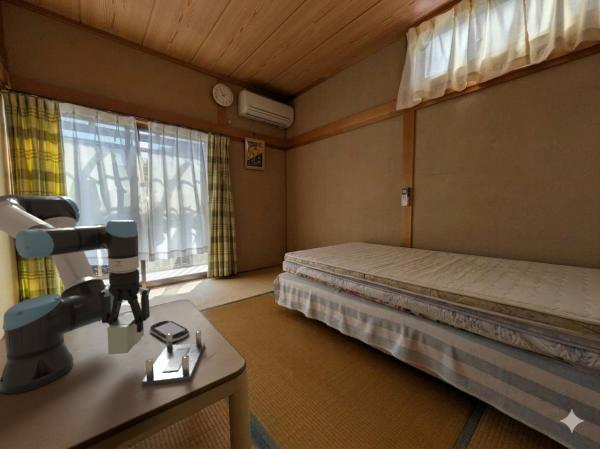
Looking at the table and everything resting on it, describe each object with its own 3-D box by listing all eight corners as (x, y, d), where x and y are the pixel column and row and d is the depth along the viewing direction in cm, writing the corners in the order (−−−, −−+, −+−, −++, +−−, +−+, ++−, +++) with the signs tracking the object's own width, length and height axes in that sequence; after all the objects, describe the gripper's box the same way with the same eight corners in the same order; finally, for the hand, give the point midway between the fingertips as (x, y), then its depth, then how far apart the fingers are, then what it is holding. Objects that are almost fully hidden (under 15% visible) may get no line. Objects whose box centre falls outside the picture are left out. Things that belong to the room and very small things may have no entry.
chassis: (141, 386, 67) (140, 364, 67) (166, 349, 85) (165, 332, 85) (190, 381, 69) (189, 359, 69) (204, 346, 87) (204, 329, 87)
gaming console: (146, 332, 99) (146, 326, 98) (168, 323, 106) (168, 317, 106) (169, 347, 88) (169, 340, 87) (192, 336, 95) (192, 330, 95)
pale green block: (108, 354, 69) (107, 327, 69) (127, 335, 79) (126, 312, 79) (127, 352, 70) (126, 326, 70) (143, 334, 80) (143, 311, 79)
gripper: (82, 274, 68) (86, 351, 70) (150, 272, 71) (153, 347, 73) (99, 267, 75) (103, 337, 77) (161, 266, 78) (163, 334, 80)
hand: (127, 342), depth 75 cm, fingers closed on pale green block, 5 cm apart
